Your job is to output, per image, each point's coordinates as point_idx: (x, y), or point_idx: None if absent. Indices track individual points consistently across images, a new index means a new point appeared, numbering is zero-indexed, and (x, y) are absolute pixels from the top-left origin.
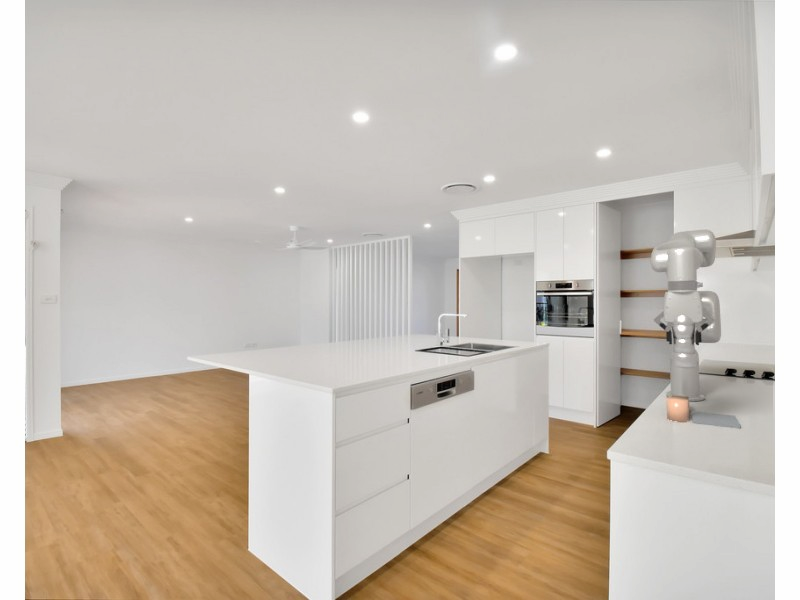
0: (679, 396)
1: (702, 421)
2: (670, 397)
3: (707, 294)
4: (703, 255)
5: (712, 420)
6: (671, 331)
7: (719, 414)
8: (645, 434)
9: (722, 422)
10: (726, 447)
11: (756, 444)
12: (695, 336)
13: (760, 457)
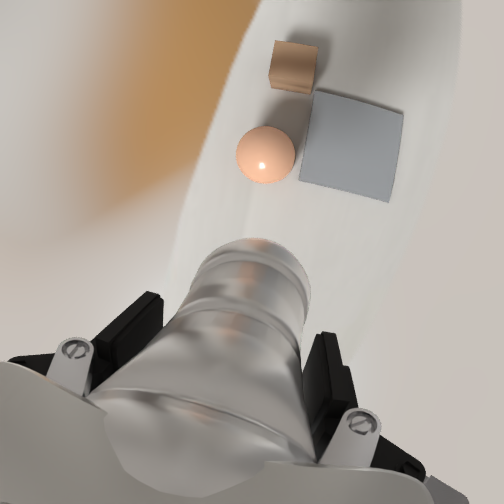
0: (293, 52)
1: (319, 184)
2: (249, 140)
3: None
4: None
5: (344, 169)
6: (117, 358)
7: (373, 110)
8: (186, 295)
9: (361, 183)
10: (311, 333)
11: (370, 304)
12: (316, 379)
13: (343, 363)
